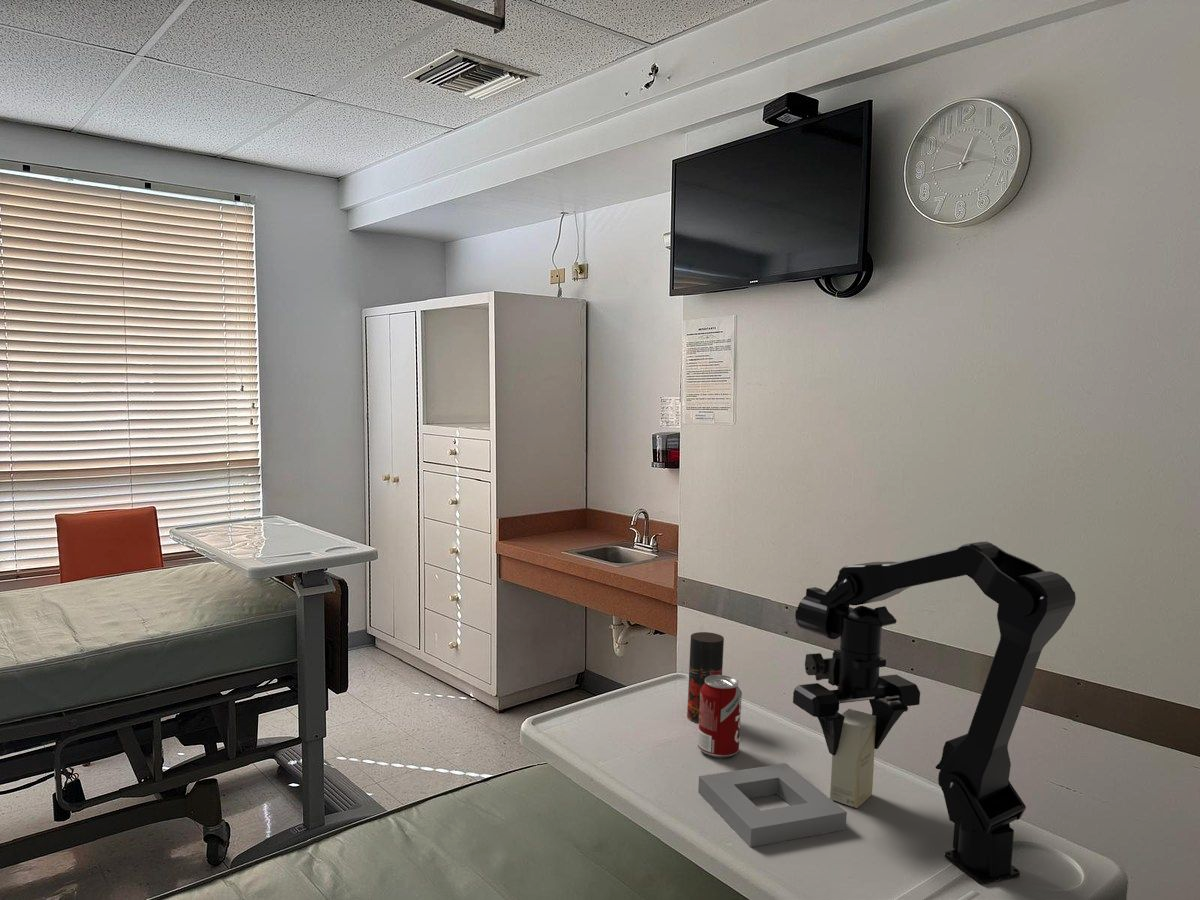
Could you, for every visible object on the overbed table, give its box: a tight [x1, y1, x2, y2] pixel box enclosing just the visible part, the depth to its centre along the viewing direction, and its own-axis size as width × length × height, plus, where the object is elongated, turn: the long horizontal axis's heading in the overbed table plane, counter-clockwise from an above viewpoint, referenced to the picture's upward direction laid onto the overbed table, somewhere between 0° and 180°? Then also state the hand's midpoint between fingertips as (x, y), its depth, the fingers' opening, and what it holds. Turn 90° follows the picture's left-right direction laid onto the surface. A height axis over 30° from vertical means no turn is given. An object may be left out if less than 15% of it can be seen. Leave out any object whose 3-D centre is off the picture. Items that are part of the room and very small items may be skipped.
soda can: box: [697, 674, 743, 759], centre depth 135 cm, size 7×7×12 cm
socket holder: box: [697, 763, 848, 848], centre depth 117 cm, size 15×15×2 cm
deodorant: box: [686, 631, 725, 725], centre depth 149 cm, size 6×6×15 cm
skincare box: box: [829, 708, 876, 809], centre depth 122 cm, size 6×4×12 cm
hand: (853, 751), depth 121 cm, fingers closed on skincare box, 7 cm apart
